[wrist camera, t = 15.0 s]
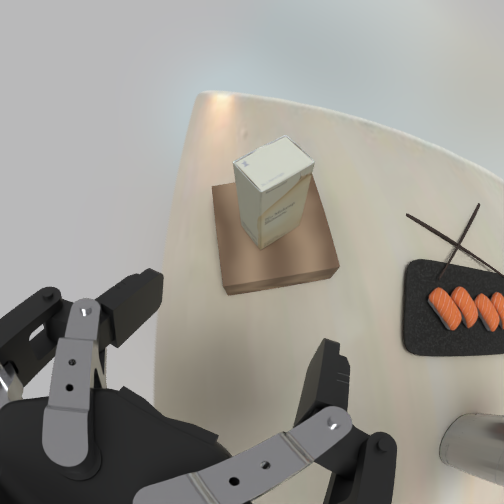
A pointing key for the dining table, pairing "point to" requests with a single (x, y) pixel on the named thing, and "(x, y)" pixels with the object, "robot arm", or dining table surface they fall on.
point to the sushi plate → (453, 306)
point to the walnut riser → (272, 247)
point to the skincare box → (272, 189)
